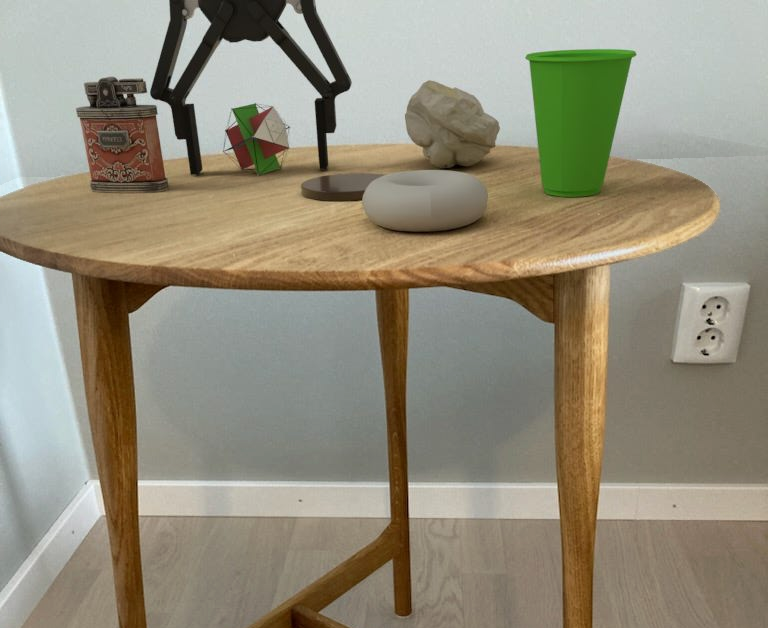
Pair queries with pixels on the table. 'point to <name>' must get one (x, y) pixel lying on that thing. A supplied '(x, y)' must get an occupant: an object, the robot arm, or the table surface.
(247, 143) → the geometric puzzle
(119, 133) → the lighter
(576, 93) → the cup
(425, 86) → the beige lumpy stone
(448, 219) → the donut
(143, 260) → the table surface
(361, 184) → the walnut coaster
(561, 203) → the table surface
